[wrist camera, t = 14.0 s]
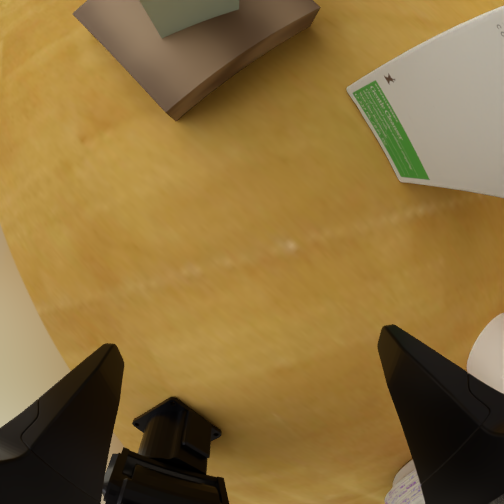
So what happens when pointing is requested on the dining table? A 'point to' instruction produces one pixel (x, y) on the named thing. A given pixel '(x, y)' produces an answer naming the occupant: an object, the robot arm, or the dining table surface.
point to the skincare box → (443, 108)
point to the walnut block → (192, 45)
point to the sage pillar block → (184, 12)
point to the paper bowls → (406, 487)
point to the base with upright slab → (489, 355)
